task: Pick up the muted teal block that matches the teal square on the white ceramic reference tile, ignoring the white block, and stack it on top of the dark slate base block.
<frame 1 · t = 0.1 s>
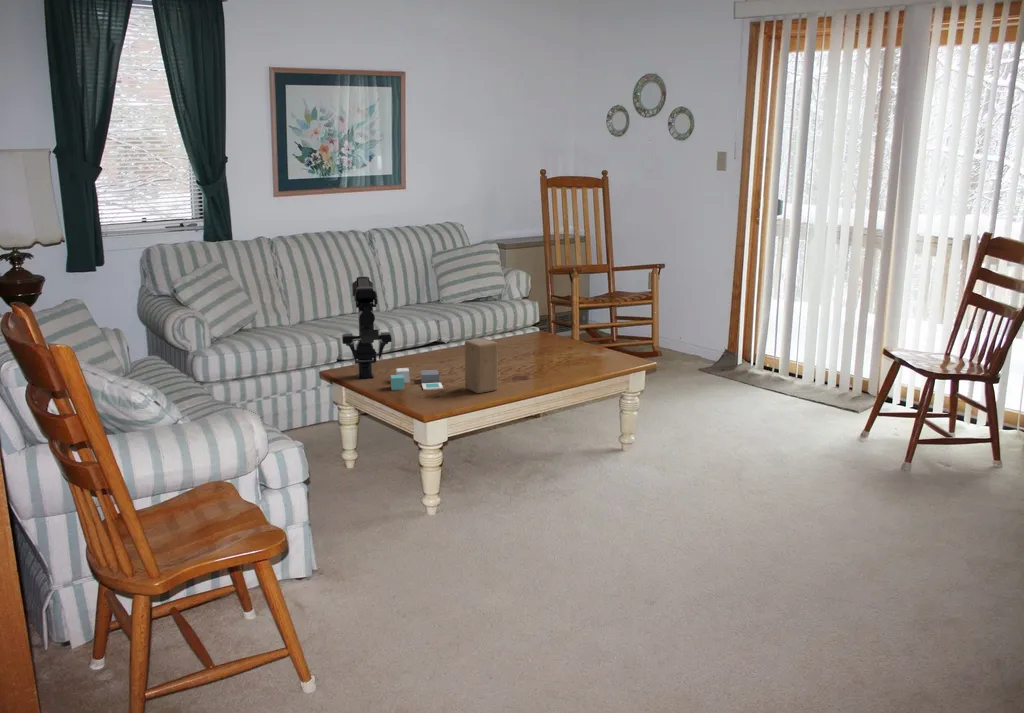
hand: (367, 359, 350), 15 cm above the table, fingers open, 9 cm apart
wooden block: (481, 389, 363), on the table
white block: (403, 381, 374), on the table
reference tile: (432, 387, 366), on the table
slate base block: (429, 381, 374), on the table
teal block: (397, 388, 364), on the table
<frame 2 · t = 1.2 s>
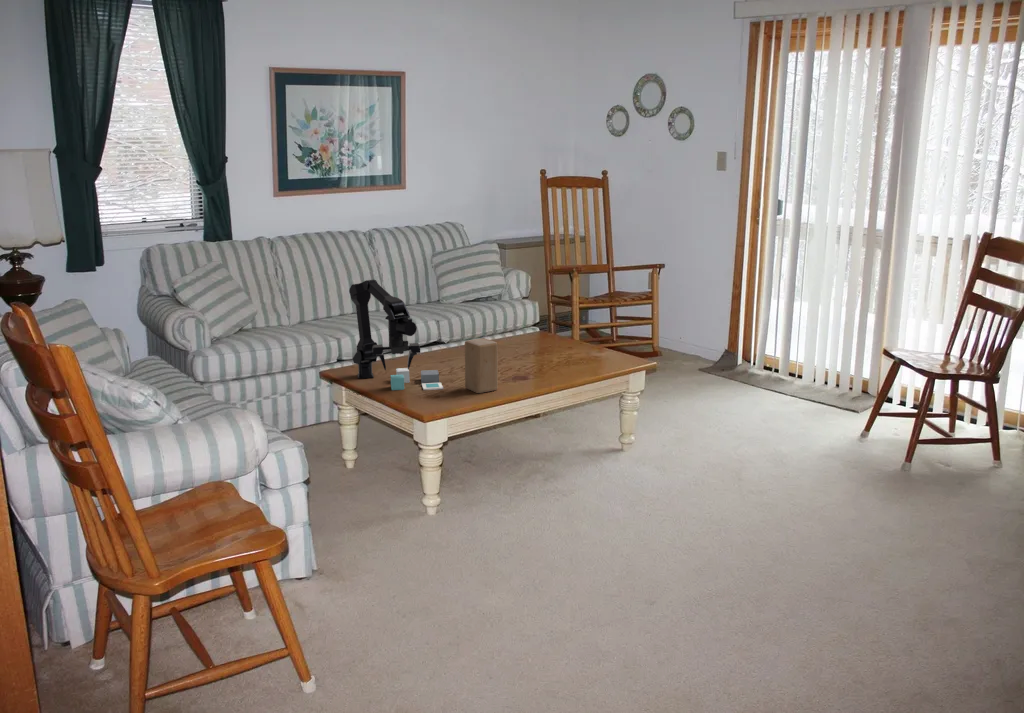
hand: (396, 369, 362), 8 cm above the table, fingers open, 9 cm apart
nothing on the table moved.
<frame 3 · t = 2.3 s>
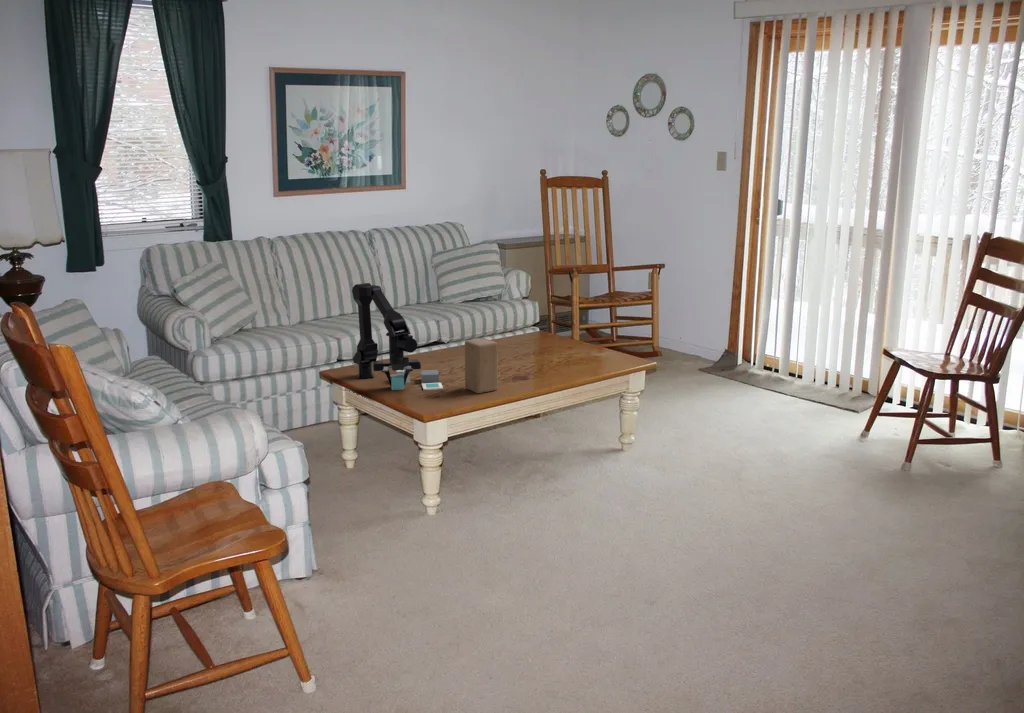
hand: (397, 385, 364), 1 cm above the table, fingers closed on teal block, 5 cm apart
teal block: (397, 388, 364), on the table, touching gripper
everything else where it was.
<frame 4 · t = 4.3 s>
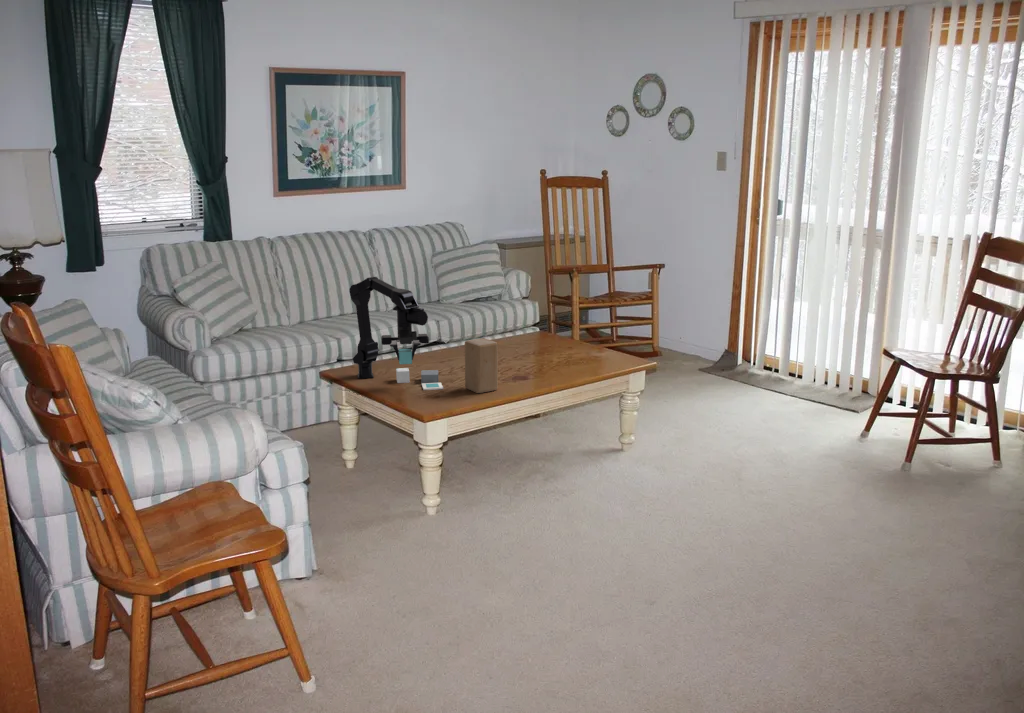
hand: (405, 360, 364), 11 cm above the table, fingers closed on teal block, 5 cm apart
teal block: (405, 362, 364), point 10 cm above the table, touching gripper
everything else where it was.
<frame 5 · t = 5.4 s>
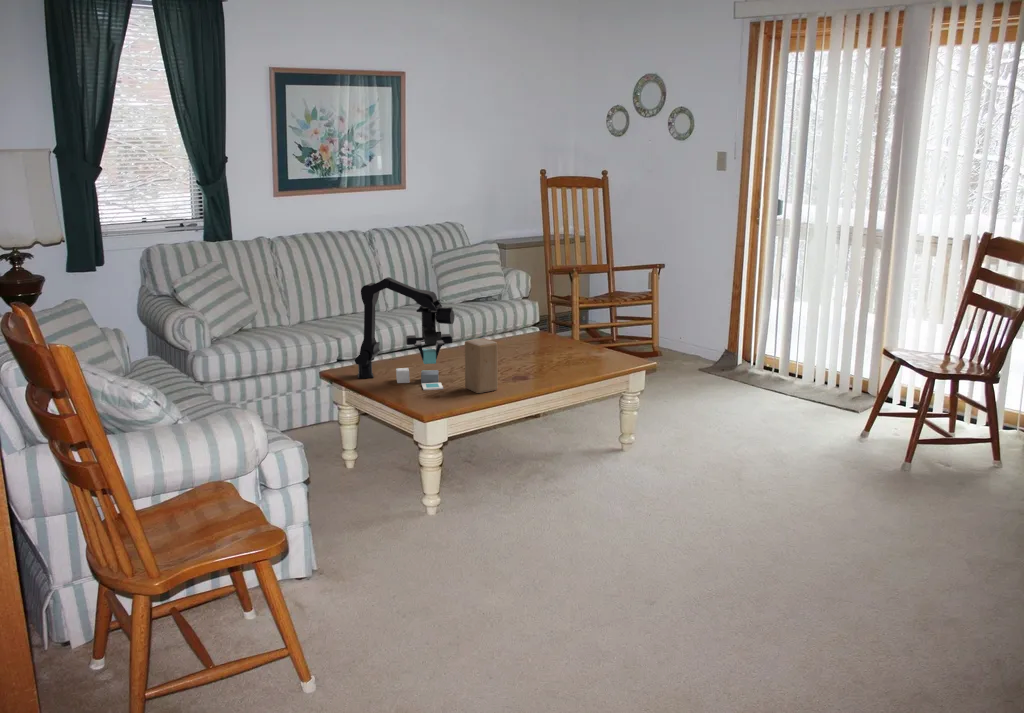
hand: (429, 359, 372), 9 cm above the table, fingers closed on teal block, 5 cm apart
teal block: (429, 362, 372), point 8 cm above the table, touching gripper
everything else where it was.
when the fingers open (6 cm above the table, at t = 6.2 s): teal block drops 1 cm, resting on slate base block.
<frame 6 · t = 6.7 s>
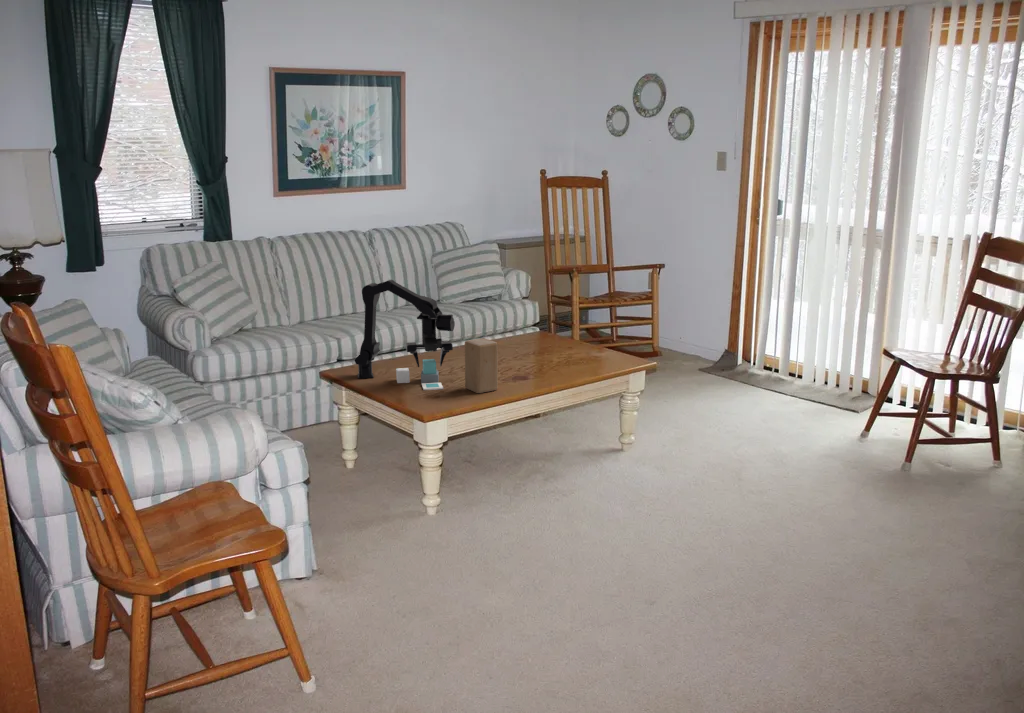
hand: (429, 366, 373), 6 cm above the table, fingers open, 9 cm apart
slate base block: (429, 381, 374), on the table, touching teal block
teal block: (429, 372, 373), point 4 cm above the table, touching slate base block
everything else where it was.
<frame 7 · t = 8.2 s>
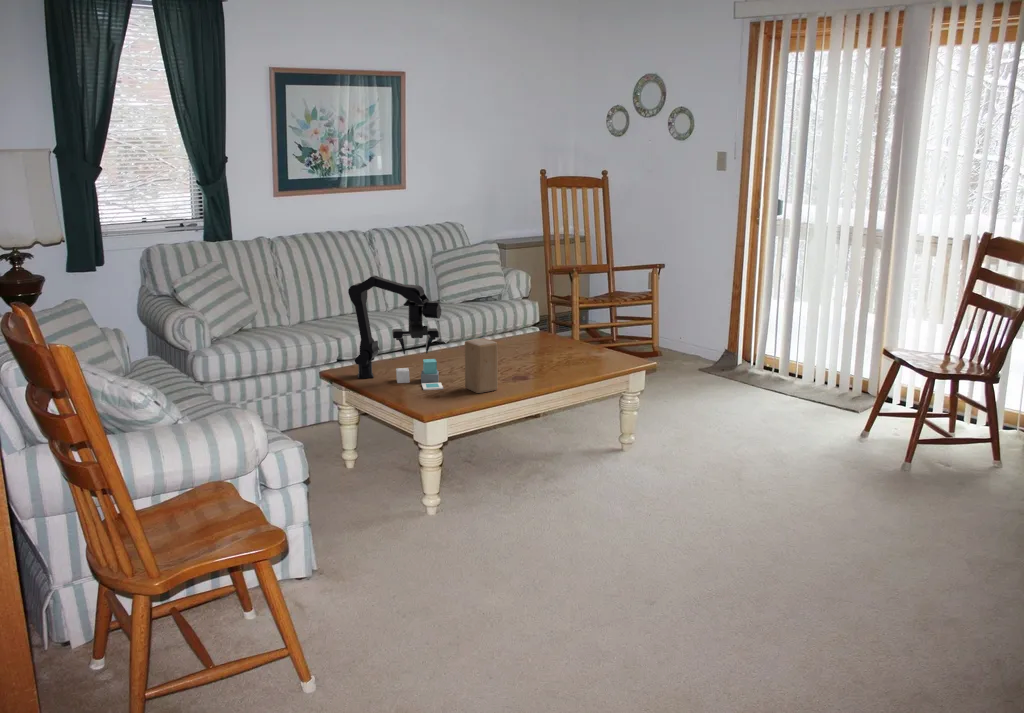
hand: (415, 353, 373), 11 cm above the table, fingers open, 9 cm apart
nothing on the table moved.
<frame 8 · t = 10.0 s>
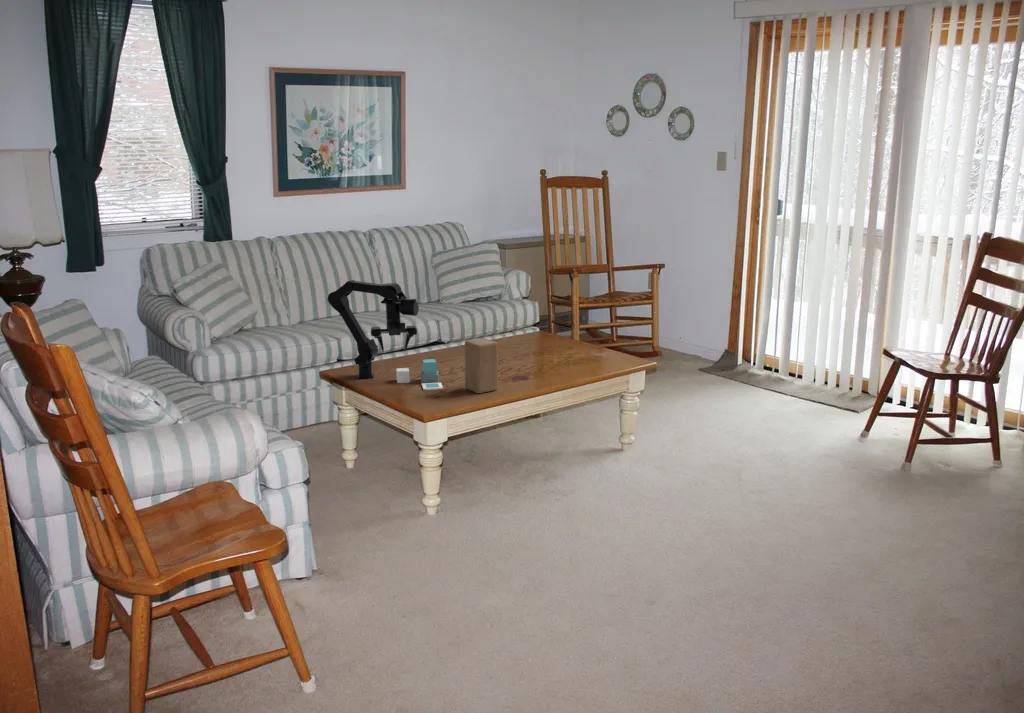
hand: (394, 351, 374), 12 cm above the table, fingers open, 9 cm apart
nothing on the table moved.
at the end: teal block 0.1 cm off-centre on the slate base block, point 4.0 cm above the slate base block's base; teal block tilted 0°; the gripper is holding nothing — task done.
